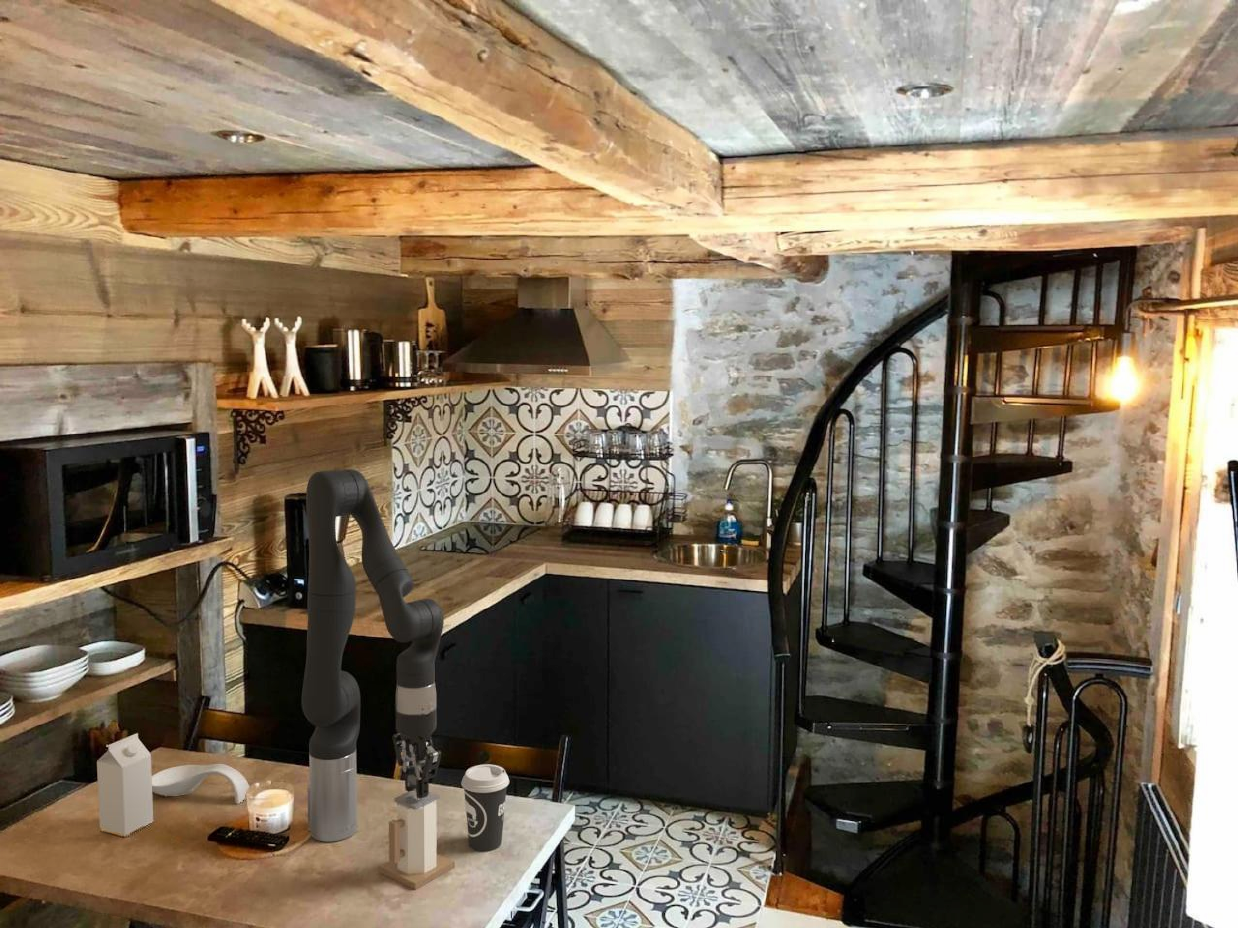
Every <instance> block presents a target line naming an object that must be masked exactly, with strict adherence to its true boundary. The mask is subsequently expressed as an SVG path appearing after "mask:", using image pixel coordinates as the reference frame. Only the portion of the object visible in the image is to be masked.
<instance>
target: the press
mask: <svg viewBox="0 0 1238 928" xmlns="http://www.w3.org/2000/svg"><path fill="white" fill-rule="evenodd" d="M439 799H440V795H438V794H436V793H434V792H431V791H429V793H428V796H427V797H424V798H421V799H418V800H415V799H414V790H413V791H410V792H408V791H407V792H405V793H402V794H401V795H399V796H397V797H395V798H394V799H393V801H394V802H395V803H396V820H395V819H391V820H389V821H388V859H389V861H388V862H385V863H384V864H382V865H380V866H379V873H380V874H382V875H384V876H386V877H389V878H390V879H392V880H394V881H397V882H399V883H401V884H403V885H405V886H407V887H409V888H411V889H413V890H418V889H419V888H421V887H423V886H424V885H425V886H426V884H429V883H430V882H432V881H433V880H435V879H437V878H440V877H441V876H442V875H444V874H446V873H448V872H450V871H451V870H453V869H455V868H456V867H455V866H456V863H455V861H454V860H452V859H450V858H447V857H445V856H444V855H443V856H442V855H441V854H438V853H437V842H438V841H437V835H438V834H437V833H438V832H437V829H438V828H437V800H439Z"/></svg>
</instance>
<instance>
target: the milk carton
mask: <svg viewBox="0 0 1238 928" xmlns="http://www.w3.org/2000/svg"><path fill="white" fill-rule="evenodd" d="M107 747H108V750H107V751H106V752H105V753H104V754H103V755H102V756H101V757H100V758H99V759H98V760H97V761H96V771H97V773H96V774H97V791H98V793H97V794H98V818H99V819H98V820H99V829H100V828H101V829H105V830H108V831H112V832H116V833H120V834H123V835H126V834H129V833H130V832H132V831H134V830H136V829H138V828H140V827H142V826H146V825H148V824H149V823H152V822H153V823H154V809H153V808H154V805H153V804H154V803H153V801H154V800H153V791H152V776H153V775H152V754H151V753H150V751H149V750H148V749H147V748H146V746H145V745H144V744H143V742H142V741H141V740H140V738H139V733H138V732H137V733H133V734H132V735H129V736H127V737H124V738H121V739H120V740H117V741H114V742H113V743H110V744H108V745H107ZM153 823H152V824H153ZM148 826H149V825H148ZM146 827H147V826H146Z"/></svg>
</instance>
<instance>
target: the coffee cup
mask: <svg viewBox="0 0 1238 928" xmlns="http://www.w3.org/2000/svg"><path fill="white" fill-rule="evenodd" d="M509 784H510V779H509V776H508V774H507V772H506V770H505V769H504V768H503V767H502V766H500V765H498V764H497V765H496V764H491V763H490V764H489V763H488V764H479V765H474V766H471V767H469V768H468V769H467V770H466V771H465V773H464V775H463V777H462V779H461V787H462V788H463V792H464V801H465V803H464V804H465V811H466V812H465V813H466V822H467V823H466V824H467V826H466V827H467V835H468V846H469V847H470V848H471V849H472V850H474V851H477V852H490V851H494V850H496V849H498V848H500V847H501V845H502V841H503V829H504V820H505V809H506V808H505V807H506V797H507V796H506V795H507V787H508V786H509Z"/></svg>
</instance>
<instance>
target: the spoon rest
mask: <svg viewBox="0 0 1238 928" xmlns="http://www.w3.org/2000/svg"><path fill="white" fill-rule="evenodd" d="M210 775H218V776H220V777H223V778H225V779H226V780H227V781H229V783H230V784H231V786H232V789H233V793H234V801H235V804H236V803H237V804H236V805H239V803H240V802H241V803H242V802H244V801H245V800H246V799H245V794H246V791H247V789H248V788H249V787H250V785H249V783H248V781H247V780H246V778H245V777H244V775H243V774H241V773H240V771H238V770H236V769H235V768H233V767H231V766H229V765H227V764H223V763H212V764H206V765H205V764H202V765H200V764H187V765H186V764H185V765H179V766H174V767H169V768H166V769H162V770H159V771H158V772H156V773H155V774H153V775H152V793H154V794H157V795H159V796H163V795H164V797H167V796H175V795H181V794H185V793H188V792H190V791H192V792H193V790H195V789H196V788H198V786H199V785H200V784H201V783H202V782H203V781H204V780H205V779H206V778H207V777H209V776H210ZM190 793H191V792H190ZM188 794H189V793H188ZM244 799H245V800H244ZM243 800H244V801H243ZM241 803H240V804H241Z"/></svg>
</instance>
